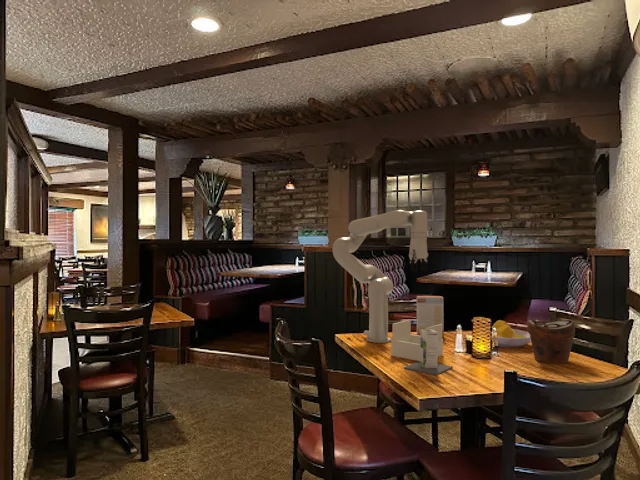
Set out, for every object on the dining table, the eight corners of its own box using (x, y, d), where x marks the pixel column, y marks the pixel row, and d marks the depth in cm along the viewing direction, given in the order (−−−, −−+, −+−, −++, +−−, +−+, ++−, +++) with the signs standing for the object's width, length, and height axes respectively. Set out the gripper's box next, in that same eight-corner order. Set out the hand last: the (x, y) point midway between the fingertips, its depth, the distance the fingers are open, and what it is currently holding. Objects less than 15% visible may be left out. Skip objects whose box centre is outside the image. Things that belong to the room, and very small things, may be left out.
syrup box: (419, 364, 191) (419, 329, 191) (433, 364, 191) (433, 329, 191) (423, 368, 185) (423, 331, 185) (438, 368, 186) (438, 331, 186)
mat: (404, 368, 187) (404, 367, 187) (421, 361, 198) (421, 360, 198) (436, 375, 178) (436, 373, 178) (452, 368, 189) (452, 366, 189)
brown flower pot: (516, 357, 207) (517, 316, 206) (549, 353, 214) (550, 314, 214) (549, 368, 190) (550, 324, 190) (585, 363, 198) (586, 321, 197)
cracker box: (442, 333, 258) (442, 295, 258) (443, 336, 252) (444, 297, 252) (416, 333, 259) (416, 295, 259) (417, 335, 253) (417, 296, 253)
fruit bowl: (541, 344, 233) (541, 321, 233) (519, 353, 214) (519, 328, 214) (487, 336, 253) (487, 315, 253) (462, 343, 233) (462, 321, 233)
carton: (391, 355, 208) (391, 324, 208) (410, 349, 221) (410, 319, 221) (424, 362, 198) (425, 328, 198) (442, 354, 210) (443, 323, 210)
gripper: (420, 236, 239) (420, 269, 239) (403, 235, 226) (402, 271, 226) (434, 236, 234) (434, 270, 234) (417, 235, 221) (416, 272, 221)
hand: (418, 270), depth 230 cm, fingers open, 9 cm apart
